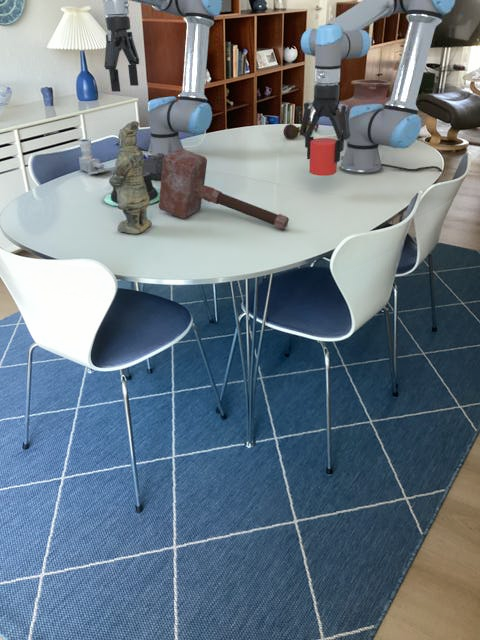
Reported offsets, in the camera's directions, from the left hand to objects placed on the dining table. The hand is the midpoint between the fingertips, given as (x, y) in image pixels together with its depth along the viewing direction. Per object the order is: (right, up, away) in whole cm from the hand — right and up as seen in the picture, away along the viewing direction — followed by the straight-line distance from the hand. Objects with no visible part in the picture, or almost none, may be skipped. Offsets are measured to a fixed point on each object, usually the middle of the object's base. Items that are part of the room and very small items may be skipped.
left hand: (125, 88), depth 185 cm
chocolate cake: (+3, -36, +2) cm, 36 cm away
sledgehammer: (+34, -48, -19) cm, 61 cm away
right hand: (+65, -26, -8) cm, 70 cm away
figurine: (+67, +11, +79) cm, 104 cm away
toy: (+5, -24, +22) cm, 33 cm away
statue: (+7, -51, -23) cm, 56 cm away
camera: (-18, -21, +29) cm, 40 cm away
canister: (+65, -30, -6) cm, 72 cm away
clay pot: (+96, +5, +68) cm, 117 cm away
